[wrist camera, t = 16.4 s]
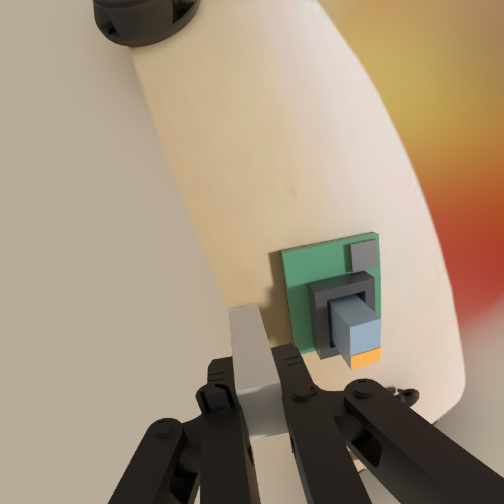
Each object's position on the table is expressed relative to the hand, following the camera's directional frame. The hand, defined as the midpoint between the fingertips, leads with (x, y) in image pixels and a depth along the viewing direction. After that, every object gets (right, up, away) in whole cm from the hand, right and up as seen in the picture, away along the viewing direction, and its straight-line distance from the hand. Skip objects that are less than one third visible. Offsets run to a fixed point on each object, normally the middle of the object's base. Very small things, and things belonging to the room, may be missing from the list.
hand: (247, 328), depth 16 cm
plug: (+12, -4, +26) cm, 29 cm away
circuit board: (+12, -2, +27) cm, 30 cm away
